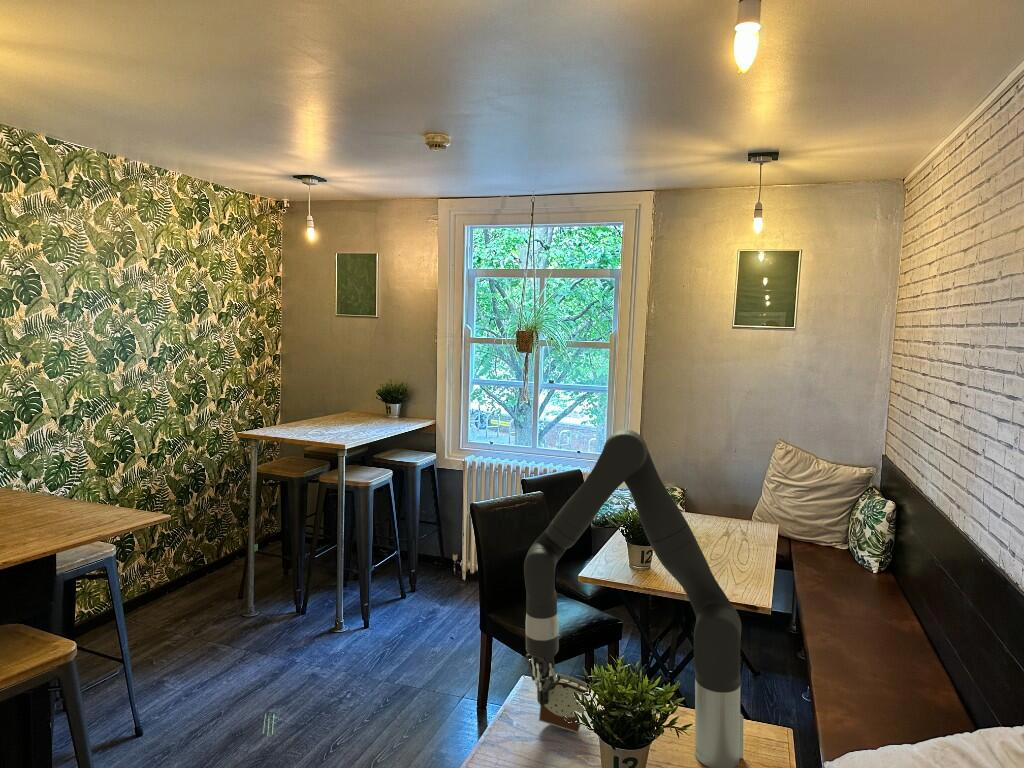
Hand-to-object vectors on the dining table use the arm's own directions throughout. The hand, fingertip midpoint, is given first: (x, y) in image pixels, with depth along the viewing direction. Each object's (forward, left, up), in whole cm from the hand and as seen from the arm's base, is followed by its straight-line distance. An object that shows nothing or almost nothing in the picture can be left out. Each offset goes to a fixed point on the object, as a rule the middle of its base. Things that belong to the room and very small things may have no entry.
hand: (543, 702), depth 151 cm
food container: (-4, 0, -6) cm, 8 cm away
